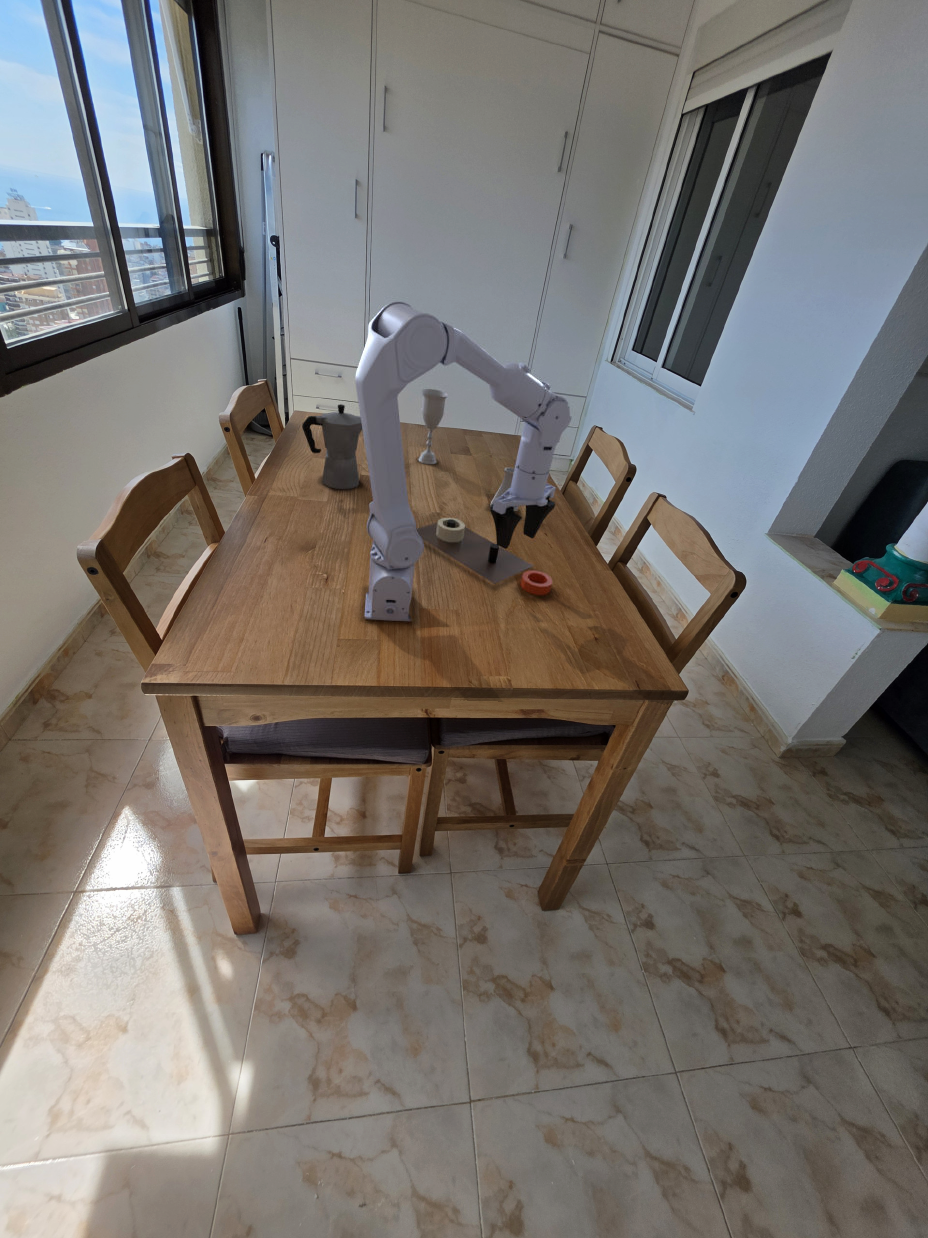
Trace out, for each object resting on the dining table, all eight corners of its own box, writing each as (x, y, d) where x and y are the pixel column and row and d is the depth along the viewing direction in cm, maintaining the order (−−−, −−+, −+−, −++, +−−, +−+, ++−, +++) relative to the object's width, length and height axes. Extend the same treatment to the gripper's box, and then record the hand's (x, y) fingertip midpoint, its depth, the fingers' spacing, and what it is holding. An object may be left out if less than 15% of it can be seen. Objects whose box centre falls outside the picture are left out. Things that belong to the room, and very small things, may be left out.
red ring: (553, 598, 100) (557, 586, 98) (526, 599, 98) (529, 587, 96) (542, 582, 104) (545, 569, 102) (515, 583, 102) (518, 570, 101)
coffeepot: (359, 472, 135) (361, 398, 124) (374, 487, 129) (377, 410, 118) (298, 476, 127) (294, 398, 117) (310, 493, 121) (308, 411, 111)
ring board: (532, 570, 107) (537, 550, 105) (493, 588, 100) (498, 568, 97) (449, 522, 119) (451, 503, 117) (408, 535, 112) (410, 515, 109)
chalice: (411, 456, 150) (417, 388, 139) (433, 455, 152) (441, 389, 142) (420, 465, 145) (427, 396, 134) (443, 465, 147) (452, 397, 137)
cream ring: (466, 542, 111) (468, 530, 109) (440, 542, 109) (441, 530, 107) (458, 529, 115) (460, 517, 113) (433, 529, 113) (435, 517, 111)
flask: (483, 509, 127) (490, 469, 122) (496, 500, 133) (503, 461, 127) (510, 519, 125) (519, 478, 119) (522, 509, 131) (531, 470, 125)
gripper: (523, 484, 81) (506, 561, 89) (576, 469, 91) (556, 540, 99) (489, 468, 85) (476, 543, 93) (544, 455, 94) (527, 524, 102)
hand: (515, 540), depth 96 cm, fingers open, 7 cm apart
